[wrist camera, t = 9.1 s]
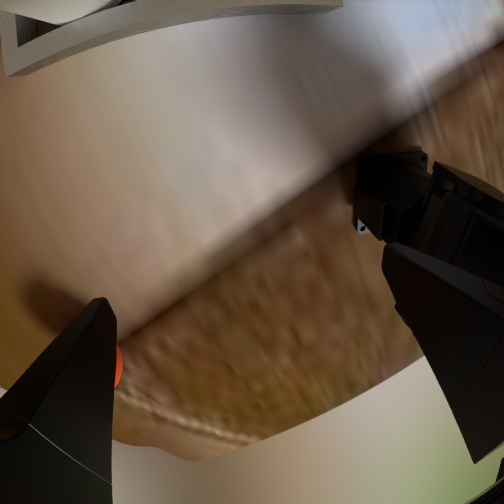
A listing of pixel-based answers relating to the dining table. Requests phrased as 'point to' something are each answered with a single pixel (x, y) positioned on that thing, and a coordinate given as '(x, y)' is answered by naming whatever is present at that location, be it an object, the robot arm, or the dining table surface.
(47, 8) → the can
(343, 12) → the dining table surface
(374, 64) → the dining table surface
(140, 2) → the grey compartment tray
